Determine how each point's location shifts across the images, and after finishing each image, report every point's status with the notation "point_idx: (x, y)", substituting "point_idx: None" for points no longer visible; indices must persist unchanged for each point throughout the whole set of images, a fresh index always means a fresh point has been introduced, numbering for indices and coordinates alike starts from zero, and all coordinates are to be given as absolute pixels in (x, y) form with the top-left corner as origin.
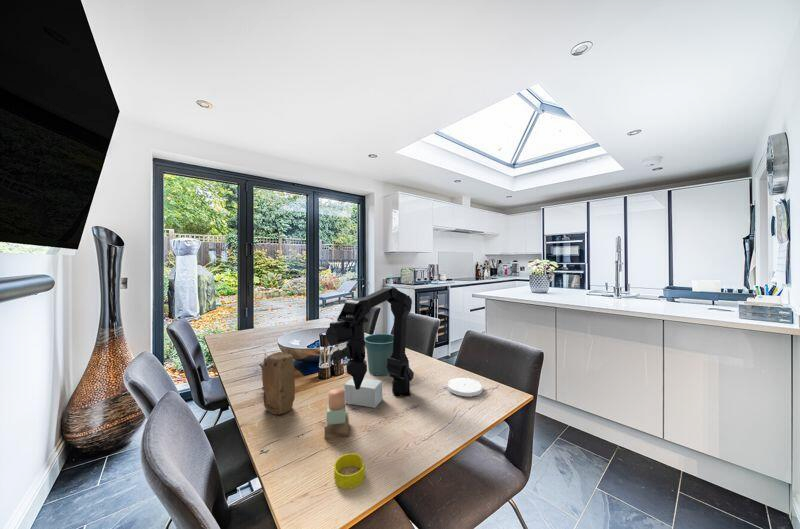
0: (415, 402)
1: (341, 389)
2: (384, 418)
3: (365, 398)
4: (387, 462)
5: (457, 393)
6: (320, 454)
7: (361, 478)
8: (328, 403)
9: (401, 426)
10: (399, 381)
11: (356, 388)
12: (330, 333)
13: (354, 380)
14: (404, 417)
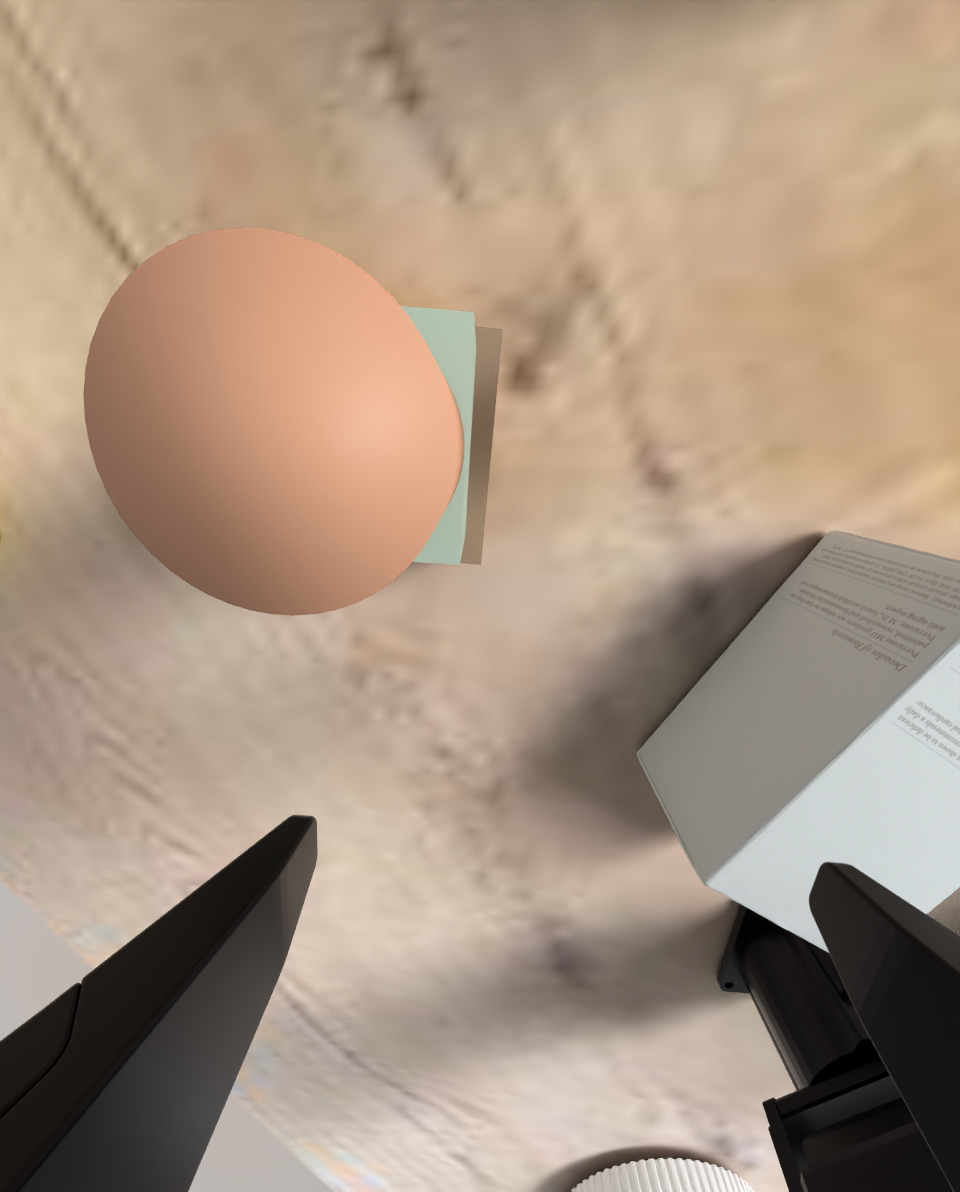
0: (617, 980)
1: (380, 557)
2: (481, 785)
3: (717, 731)
4: (32, 727)
5: (599, 1186)
6: (107, 302)
7: None
8: (461, 317)
9: (365, 856)
10: (816, 1054)
11: (272, 840)
12: None
13: (42, 1029)
14: (460, 890)
